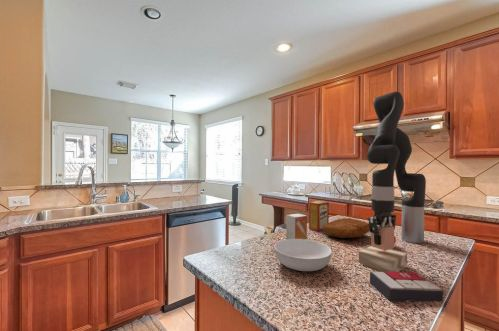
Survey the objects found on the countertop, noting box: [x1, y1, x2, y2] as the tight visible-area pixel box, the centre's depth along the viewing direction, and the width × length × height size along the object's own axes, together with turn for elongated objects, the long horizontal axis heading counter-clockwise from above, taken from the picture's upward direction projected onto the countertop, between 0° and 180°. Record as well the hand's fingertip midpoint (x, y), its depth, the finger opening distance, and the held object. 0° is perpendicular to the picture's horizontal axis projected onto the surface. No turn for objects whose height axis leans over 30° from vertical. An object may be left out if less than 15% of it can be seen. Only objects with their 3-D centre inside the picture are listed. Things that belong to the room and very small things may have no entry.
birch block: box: [358, 245, 408, 273], centre depth 90 cm, size 12×12×5 cm
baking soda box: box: [308, 200, 330, 233], centre depth 140 cm, size 10×6×16 cm
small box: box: [285, 213, 308, 240], centre depth 116 cm, size 8×6×13 cm
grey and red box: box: [369, 271, 444, 303], centre depth 71 cm, size 11×4×15 cm
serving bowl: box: [273, 239, 333, 272], centre depth 89 cm, size 21×21×7 cm
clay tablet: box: [323, 217, 370, 239], centre depth 125 cm, size 22×17×8 cm
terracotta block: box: [370, 225, 395, 251], centre depth 90 cm, size 6×6×8 cm
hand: (382, 243), depth 90 cm, fingers closed on terracotta block, 5 cm apart
